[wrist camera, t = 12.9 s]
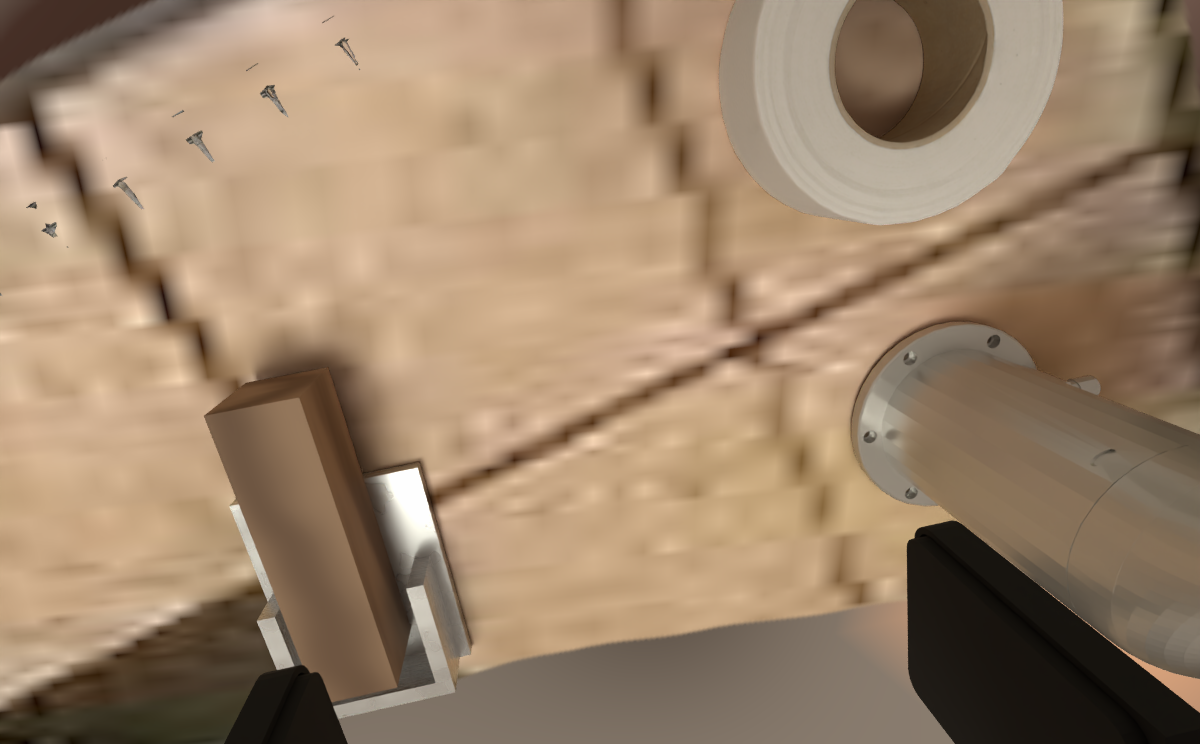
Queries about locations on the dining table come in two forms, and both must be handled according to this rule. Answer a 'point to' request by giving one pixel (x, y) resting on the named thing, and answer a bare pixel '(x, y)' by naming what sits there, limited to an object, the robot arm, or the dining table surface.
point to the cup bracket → (419, 582)
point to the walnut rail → (314, 529)
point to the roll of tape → (921, 139)
